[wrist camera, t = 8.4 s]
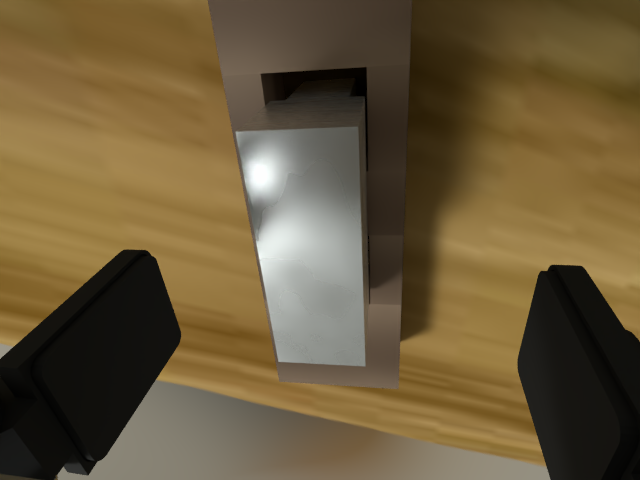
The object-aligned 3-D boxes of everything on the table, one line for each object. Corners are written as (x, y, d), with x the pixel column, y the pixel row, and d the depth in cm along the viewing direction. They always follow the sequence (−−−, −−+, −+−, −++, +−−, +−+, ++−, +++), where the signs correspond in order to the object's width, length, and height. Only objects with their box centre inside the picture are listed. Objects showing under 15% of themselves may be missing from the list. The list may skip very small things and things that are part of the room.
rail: (221, -114, 13) (181, -143, 10) (410, -141, 12) (418, -179, 9) (291, 339, 23) (279, 381, 20) (396, 343, 22) (398, 388, 19)
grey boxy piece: (292, 82, 16) (235, 131, 10) (368, 77, 15) (358, 126, 9) (310, 252, 20) (278, 361, 14) (371, 253, 19) (365, 366, 13)
